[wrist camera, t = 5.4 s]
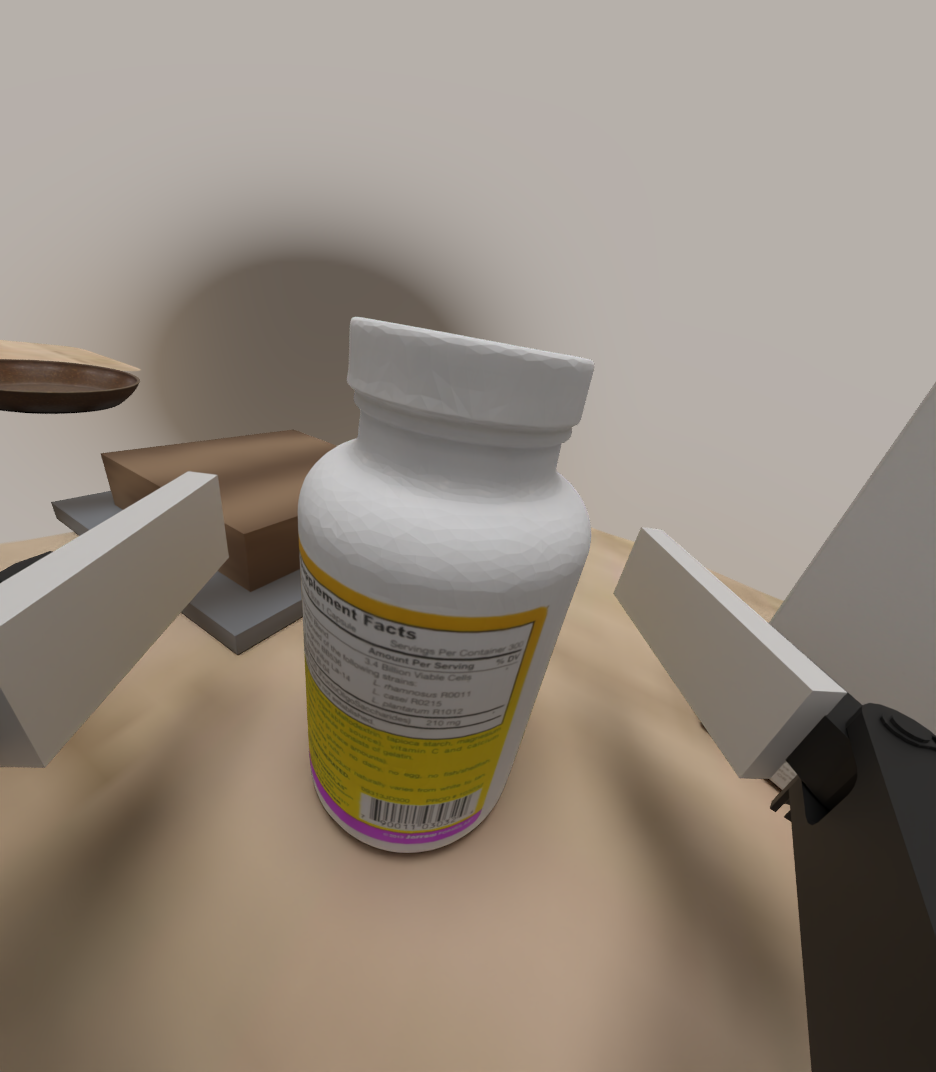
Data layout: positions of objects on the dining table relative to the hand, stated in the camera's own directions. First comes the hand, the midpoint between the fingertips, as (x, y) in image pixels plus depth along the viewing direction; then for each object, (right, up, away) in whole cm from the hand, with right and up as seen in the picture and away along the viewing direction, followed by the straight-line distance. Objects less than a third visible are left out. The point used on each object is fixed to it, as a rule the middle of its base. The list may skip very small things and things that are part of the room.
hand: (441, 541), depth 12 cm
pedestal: (-11, +1, +13) cm, 17 cm away
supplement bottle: (-1, -7, +1) cm, 7 cm away
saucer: (-42, +14, +27) cm, 52 cm away
